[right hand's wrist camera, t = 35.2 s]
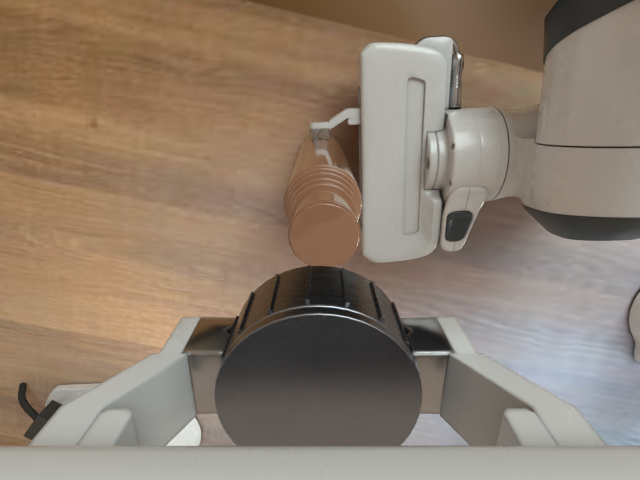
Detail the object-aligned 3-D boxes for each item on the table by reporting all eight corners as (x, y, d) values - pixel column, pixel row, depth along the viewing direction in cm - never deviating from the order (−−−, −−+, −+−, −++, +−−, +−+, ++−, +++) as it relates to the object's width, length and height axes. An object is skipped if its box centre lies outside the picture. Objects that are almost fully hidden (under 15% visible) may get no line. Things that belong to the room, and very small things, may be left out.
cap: (253, 242, 9) (233, 286, 7) (428, 287, 10) (458, 341, 7) (220, 385, 11) (196, 457, 9) (372, 418, 11) (385, 493, 9)
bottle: (338, 178, 42) (365, 287, 19) (296, 173, 42) (269, 276, 18) (345, 135, 41) (384, 194, 17) (301, 129, 40) (278, 180, 17)
